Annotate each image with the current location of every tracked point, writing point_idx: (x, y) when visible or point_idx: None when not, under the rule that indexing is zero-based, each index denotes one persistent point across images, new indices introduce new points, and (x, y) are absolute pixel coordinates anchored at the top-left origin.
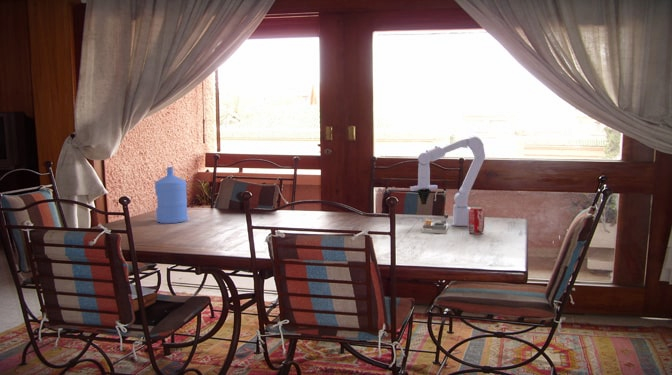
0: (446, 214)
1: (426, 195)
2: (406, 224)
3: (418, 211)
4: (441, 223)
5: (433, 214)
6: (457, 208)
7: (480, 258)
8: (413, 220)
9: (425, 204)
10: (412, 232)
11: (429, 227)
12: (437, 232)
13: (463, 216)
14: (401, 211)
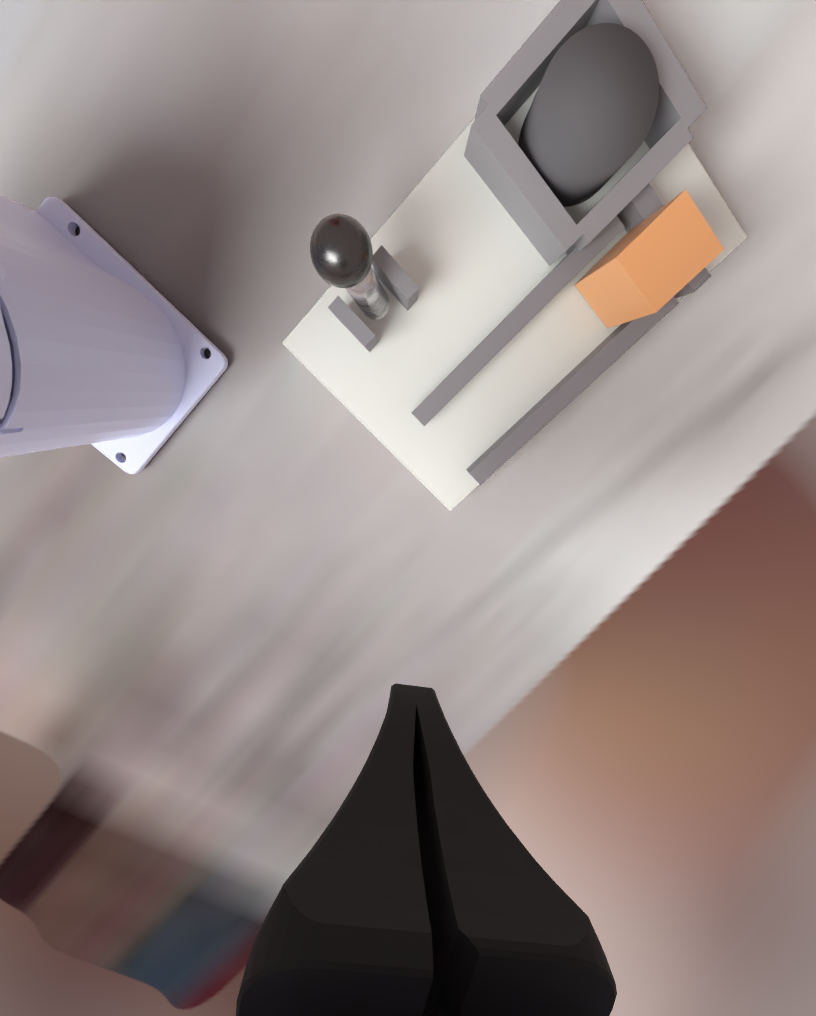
0: (338, 230)
1: (407, 816)
2: (534, 631)
3: (128, 932)
4: (592, 59)
5: (87, 820)
6: (2, 281)
7: None
8: (373, 723)
9: (399, 684)
10: (781, 309)
11: None
12: None
13: (36, 245)
14: (235, 972)
